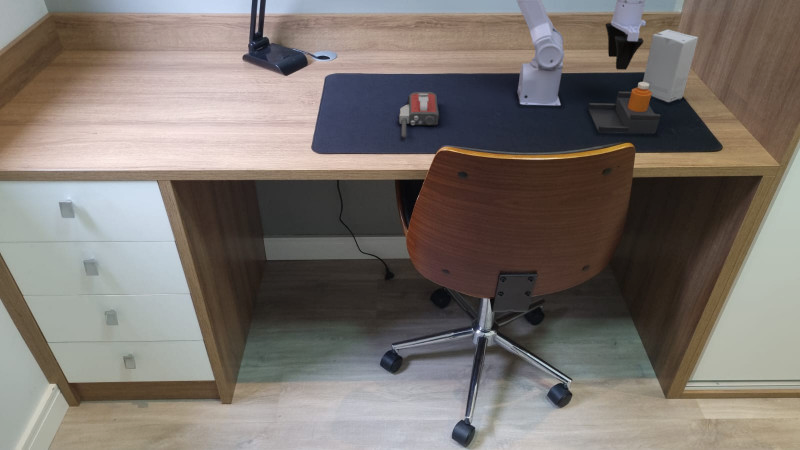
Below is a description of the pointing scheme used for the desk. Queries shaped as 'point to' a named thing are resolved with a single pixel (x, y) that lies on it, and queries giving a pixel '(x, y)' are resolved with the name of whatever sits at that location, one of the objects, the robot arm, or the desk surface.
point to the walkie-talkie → (419, 110)
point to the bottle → (640, 98)
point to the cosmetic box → (669, 64)
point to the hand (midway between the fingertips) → (617, 62)
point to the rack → (623, 117)
